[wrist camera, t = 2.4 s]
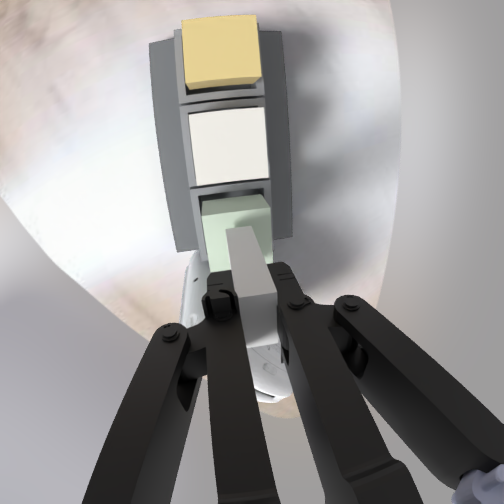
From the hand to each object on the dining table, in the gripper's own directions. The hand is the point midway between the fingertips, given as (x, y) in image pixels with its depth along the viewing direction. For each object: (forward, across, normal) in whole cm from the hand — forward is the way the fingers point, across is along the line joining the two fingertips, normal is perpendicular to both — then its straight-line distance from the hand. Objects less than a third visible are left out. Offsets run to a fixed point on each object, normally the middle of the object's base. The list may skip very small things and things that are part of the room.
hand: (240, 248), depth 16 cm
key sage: (+4, 0, 0) cm, 4 cm away
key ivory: (+4, 0, +6) cm, 7 cm away
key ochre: (+4, 0, +12) cm, 12 cm away
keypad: (+8, 0, +6) cm, 10 cm away
